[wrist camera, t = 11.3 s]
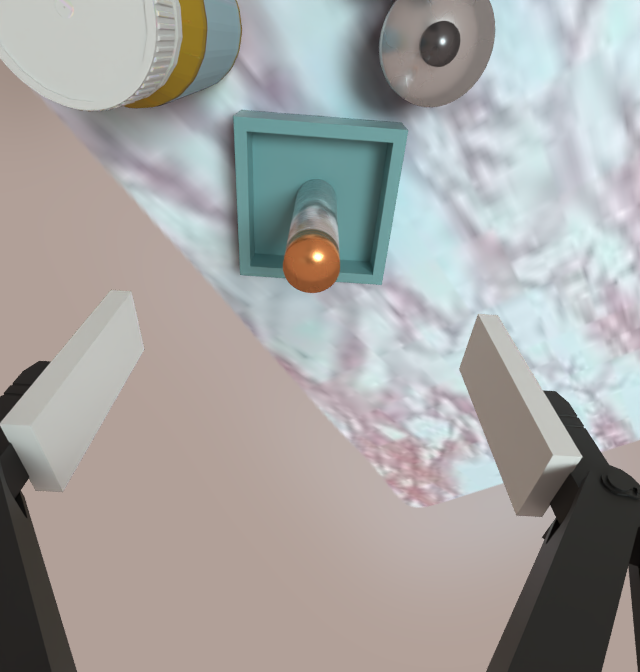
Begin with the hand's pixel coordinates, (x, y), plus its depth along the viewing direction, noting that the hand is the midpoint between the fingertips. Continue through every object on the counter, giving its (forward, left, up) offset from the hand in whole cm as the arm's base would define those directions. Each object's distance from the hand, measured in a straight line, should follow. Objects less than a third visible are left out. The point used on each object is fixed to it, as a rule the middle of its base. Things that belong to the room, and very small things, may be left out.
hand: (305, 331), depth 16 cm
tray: (0, 0, -19) cm, 19 cm away
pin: (0, 0, -18) cm, 18 cm away
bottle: (-10, -9, -19) cm, 23 cm away
